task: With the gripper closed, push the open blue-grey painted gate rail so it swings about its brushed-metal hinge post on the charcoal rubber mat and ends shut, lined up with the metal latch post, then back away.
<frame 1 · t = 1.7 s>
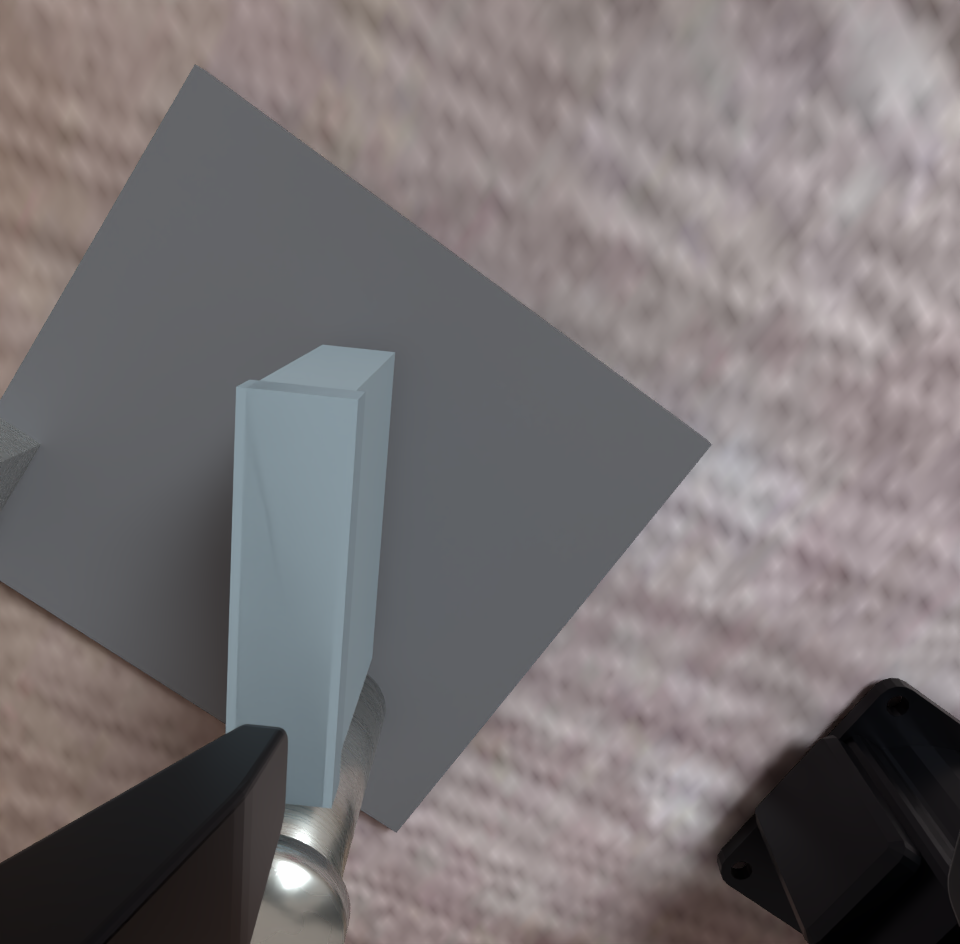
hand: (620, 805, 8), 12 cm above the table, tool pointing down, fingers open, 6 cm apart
mat: (311, 483, 20), on the table
gate: (322, 551, 17), point 4 cm above the table, hinge at -60.0°
hinge post: (342, 696, 22), resting on mat
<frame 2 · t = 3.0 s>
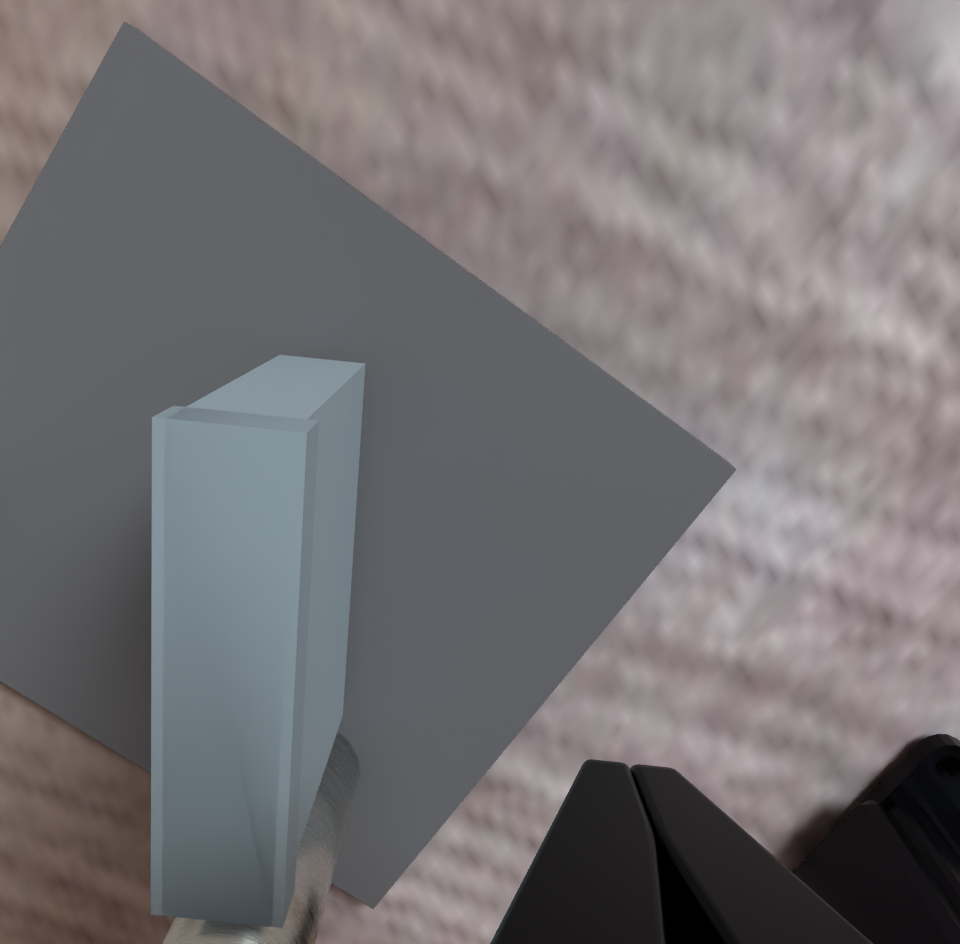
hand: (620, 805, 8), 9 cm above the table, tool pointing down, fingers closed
mat: (271, 514, 18), on the table
gate: (276, 604, 14), point 4 cm above the table, hinge at -60.0°
hinge post: (311, 755, 19), resting on mat
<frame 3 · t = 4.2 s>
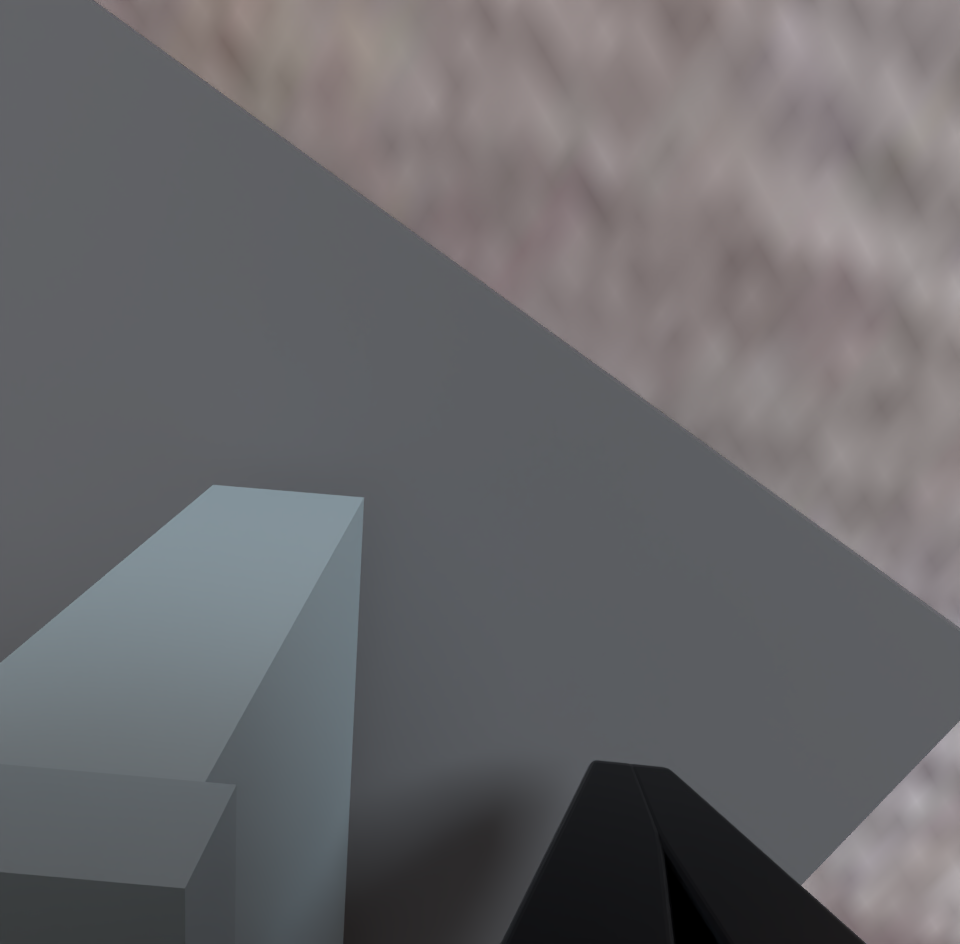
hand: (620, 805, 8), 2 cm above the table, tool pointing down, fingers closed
mat: (222, 725, 11), on the table
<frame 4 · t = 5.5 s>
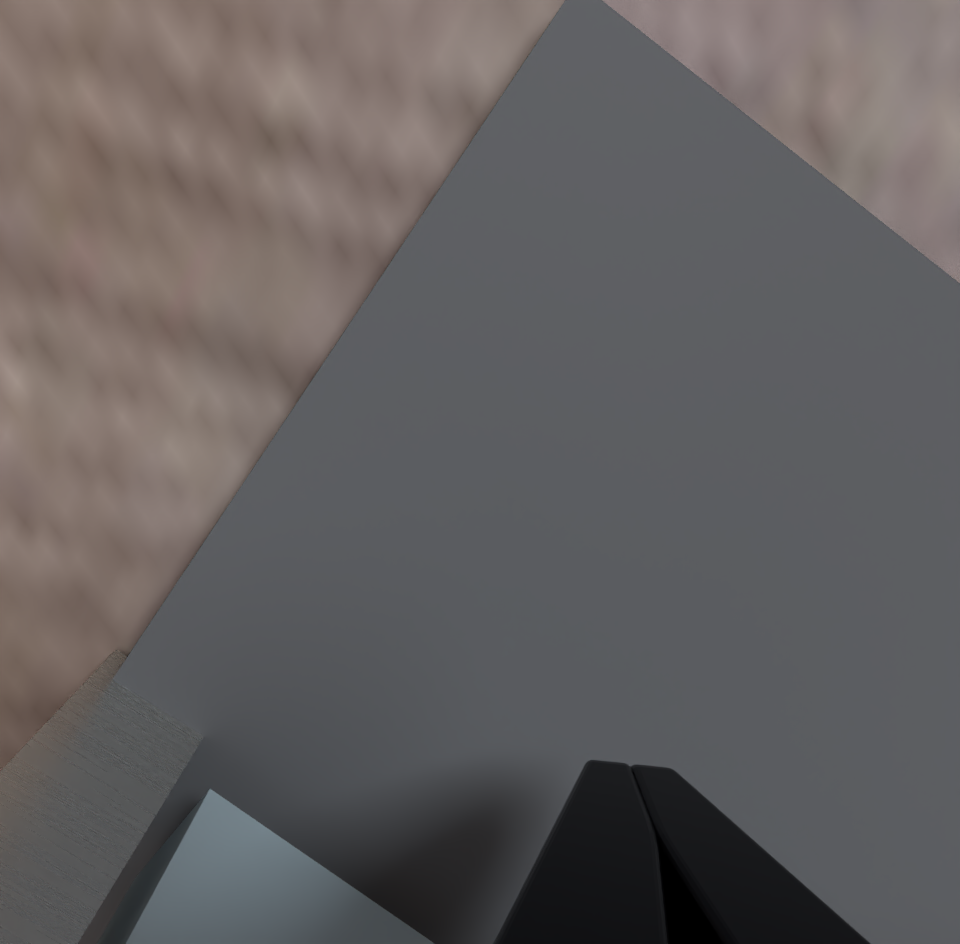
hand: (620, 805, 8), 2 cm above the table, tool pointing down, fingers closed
latch post: (109, 766, 11), resting in mat
mat: (707, 793, 11), on the table
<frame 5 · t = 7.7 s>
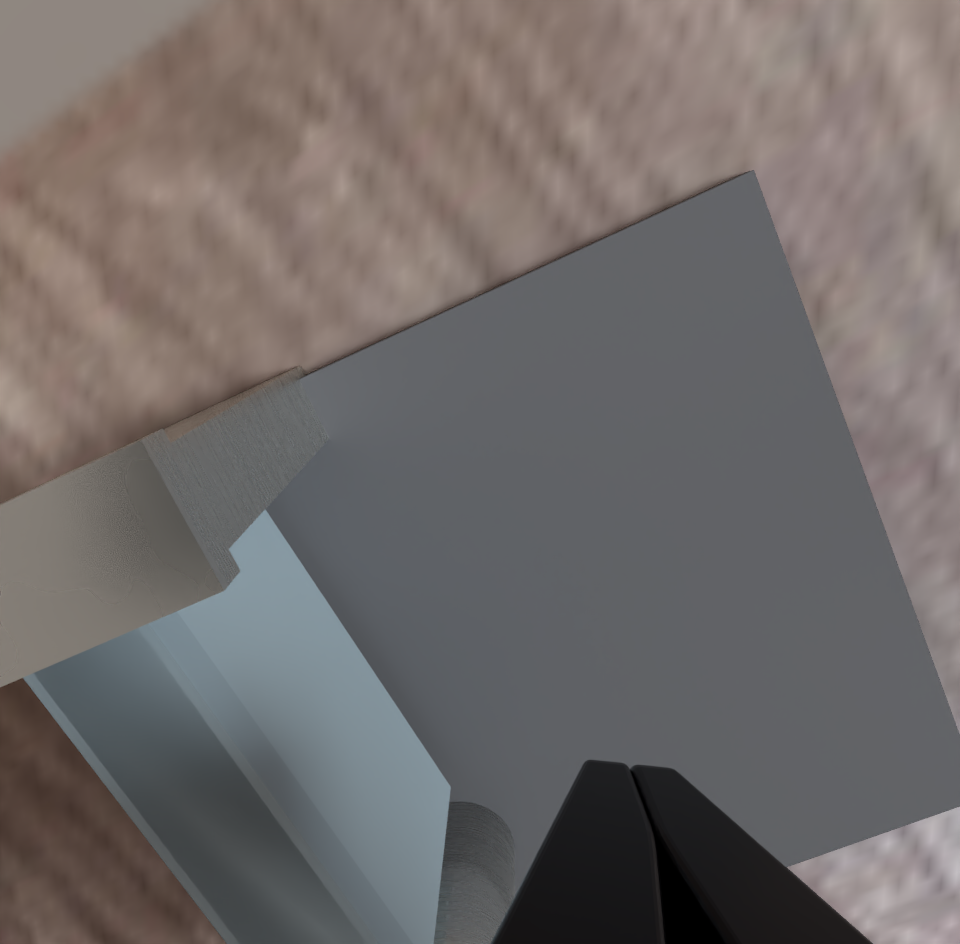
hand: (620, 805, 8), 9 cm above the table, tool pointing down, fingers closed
latch post: (251, 429, 17), resting in mat
mat: (572, 621, 18), on the table
gate: (288, 742, 14), point 4 cm above the table, hinge at 6.0°
hinge post: (462, 832, 19), resting on mat
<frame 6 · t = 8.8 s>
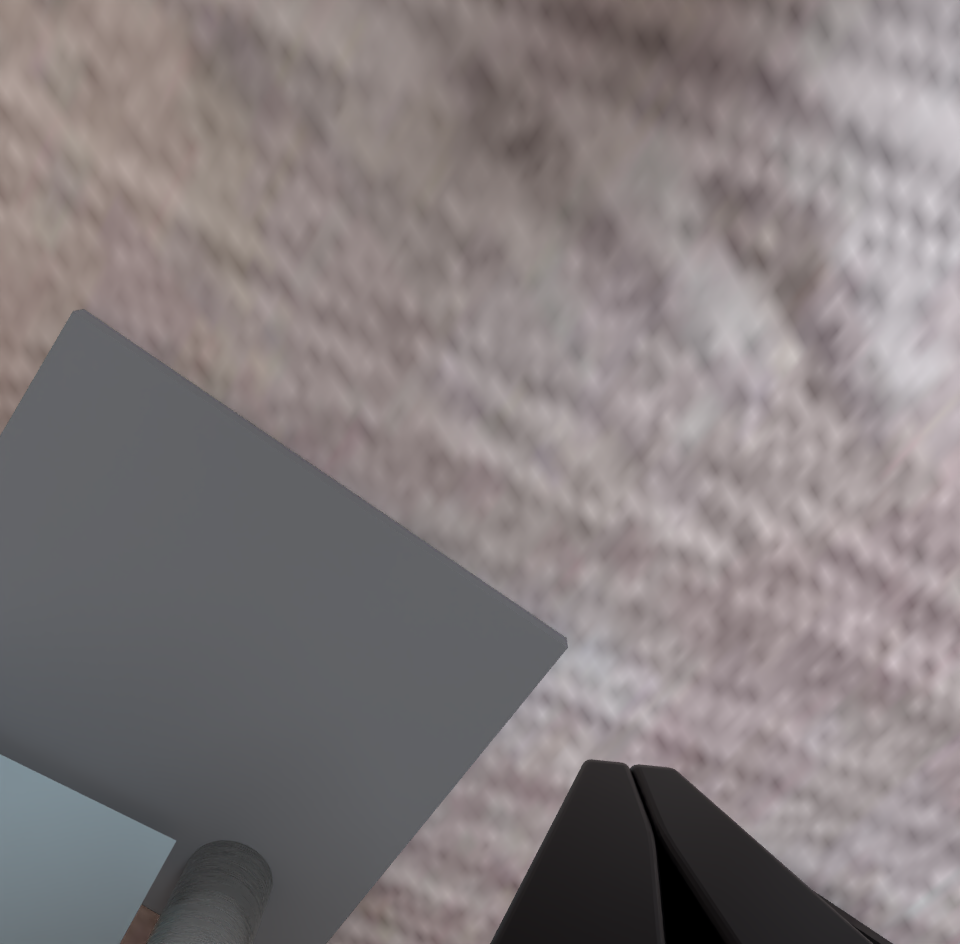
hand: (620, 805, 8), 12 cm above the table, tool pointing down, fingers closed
mat: (198, 675, 22), on the table
hinge post: (235, 864, 23), resting on mat
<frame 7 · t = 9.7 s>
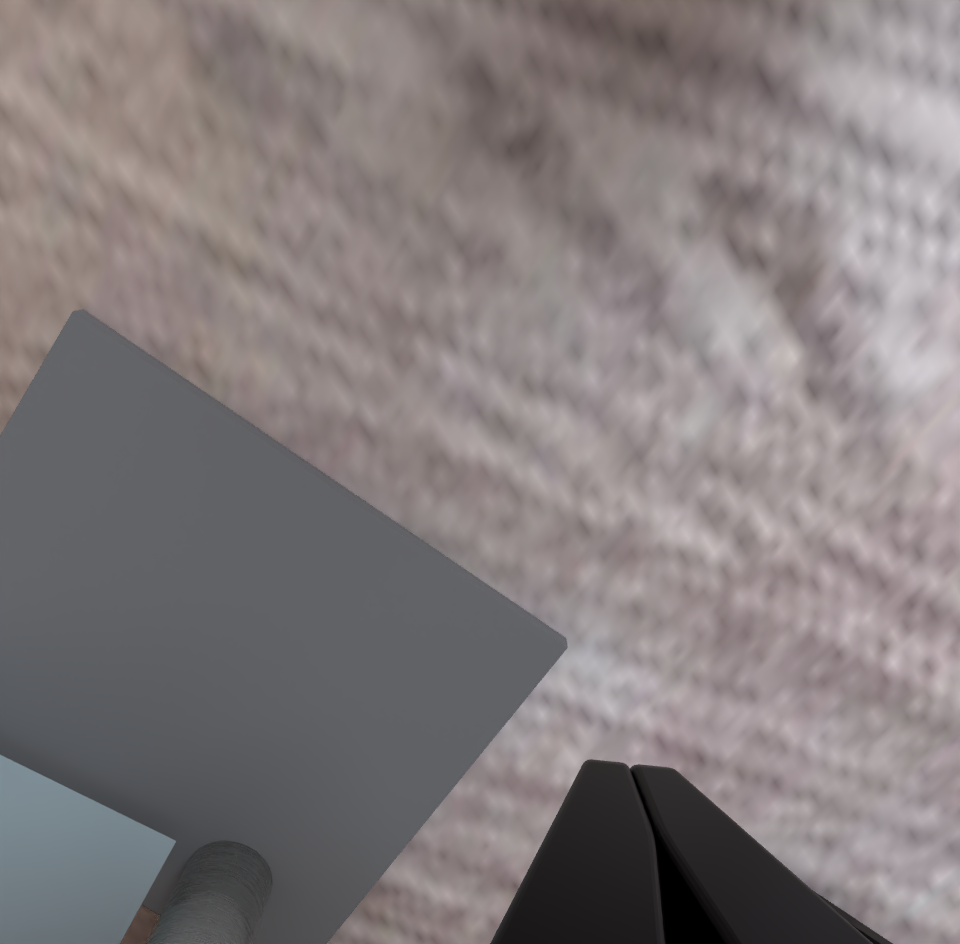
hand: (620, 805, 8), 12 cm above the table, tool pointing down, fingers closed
mat: (198, 675, 22), on the table
hinge post: (235, 865, 23), resting on mat
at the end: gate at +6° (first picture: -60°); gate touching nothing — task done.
